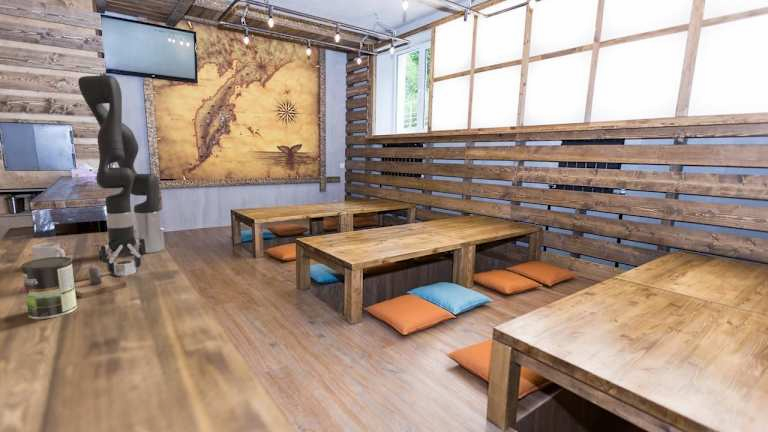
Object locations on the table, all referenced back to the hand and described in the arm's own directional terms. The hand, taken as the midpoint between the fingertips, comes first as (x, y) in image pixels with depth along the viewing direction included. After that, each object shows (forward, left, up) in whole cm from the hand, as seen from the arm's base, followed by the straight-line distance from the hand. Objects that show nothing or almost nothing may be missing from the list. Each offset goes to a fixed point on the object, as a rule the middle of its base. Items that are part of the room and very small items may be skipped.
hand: (124, 270), depth 137 cm
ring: (0, 0, -1) cm, 1 cm away
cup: (+12, -30, -1) cm, 32 cm away
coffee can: (+26, +20, -1) cm, 33 cm away
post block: (+12, +9, -1) cm, 15 cm away
